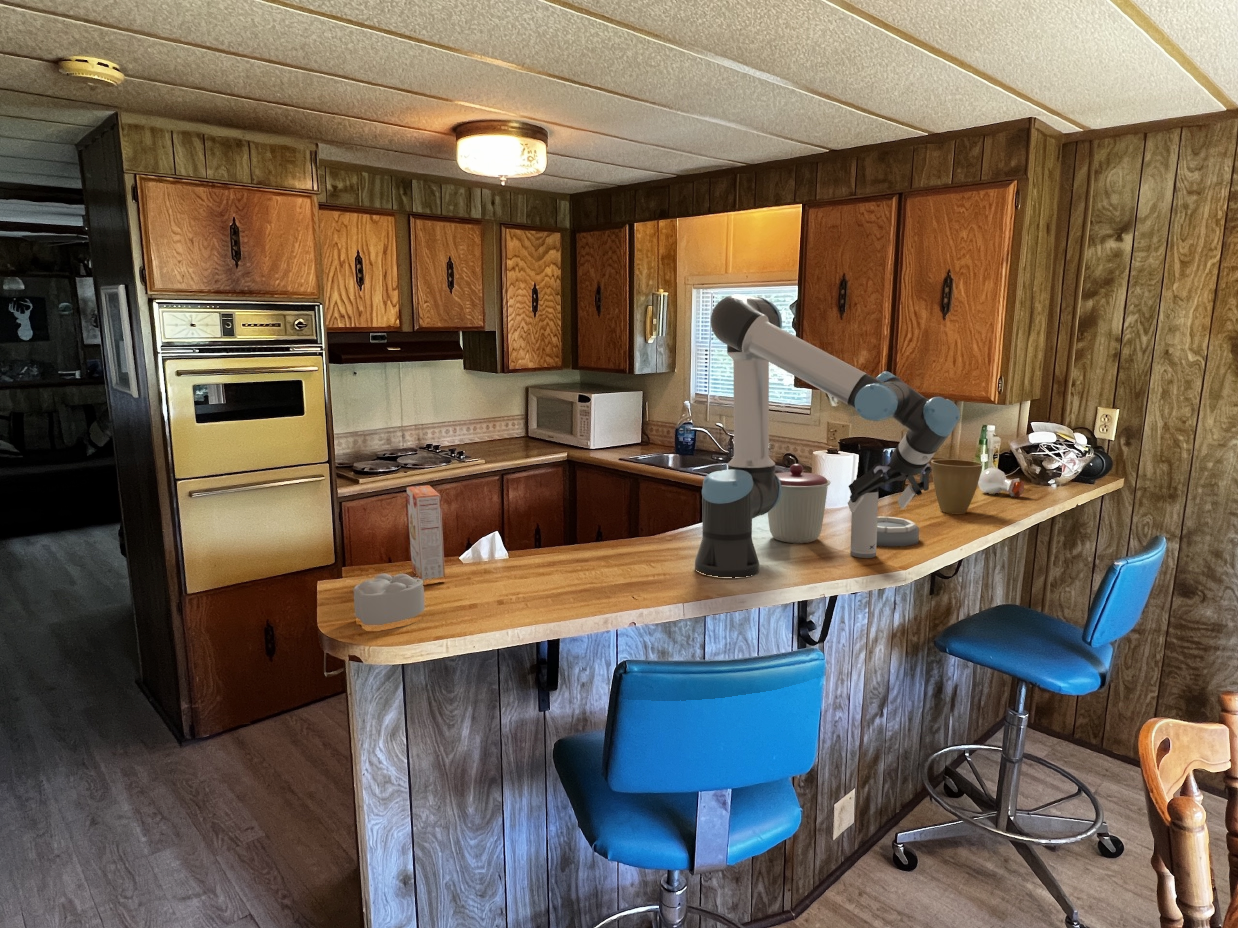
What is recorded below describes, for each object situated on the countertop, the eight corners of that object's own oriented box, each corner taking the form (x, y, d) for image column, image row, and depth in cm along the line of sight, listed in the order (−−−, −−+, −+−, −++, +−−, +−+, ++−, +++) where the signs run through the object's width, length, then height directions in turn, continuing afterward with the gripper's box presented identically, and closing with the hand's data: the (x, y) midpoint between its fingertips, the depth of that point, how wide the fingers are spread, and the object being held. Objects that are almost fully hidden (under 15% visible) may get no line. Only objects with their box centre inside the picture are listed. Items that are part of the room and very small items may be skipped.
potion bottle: (978, 494, 279) (1018, 506, 267) (968, 482, 274) (1008, 493, 262) (990, 473, 280) (1030, 483, 268) (980, 460, 275) (1021, 470, 263)
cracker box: (410, 571, 186) (405, 486, 183) (435, 568, 189) (431, 484, 186) (419, 586, 174) (414, 496, 171) (446, 583, 176) (441, 493, 173)
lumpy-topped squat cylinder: (351, 619, 153) (348, 577, 152) (414, 606, 161) (412, 566, 159) (368, 634, 145) (365, 590, 143) (433, 619, 152) (431, 577, 151)
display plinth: (866, 547, 203) (867, 529, 202) (844, 532, 219) (845, 516, 219) (929, 545, 203) (930, 528, 203) (903, 530, 220) (903, 514, 220)
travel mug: (879, 558, 191) (881, 479, 188) (851, 557, 193) (853, 479, 190) (875, 552, 197) (878, 475, 195) (849, 551, 199) (851, 475, 196)
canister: (750, 534, 218) (751, 461, 215) (806, 529, 224) (807, 457, 221) (782, 550, 201) (784, 470, 198) (842, 543, 207) (844, 466, 204)
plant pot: (948, 518, 236) (951, 466, 233) (919, 508, 250) (921, 460, 248) (990, 515, 239) (993, 464, 237) (959, 506, 254) (961, 458, 251)
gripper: (869, 469, 169) (834, 521, 185) (969, 463, 174) (926, 515, 191) (857, 442, 173) (824, 496, 190) (955, 438, 178) (915, 490, 195)
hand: (875, 506), depth 190 cm, fingers open, 13 cm apart
